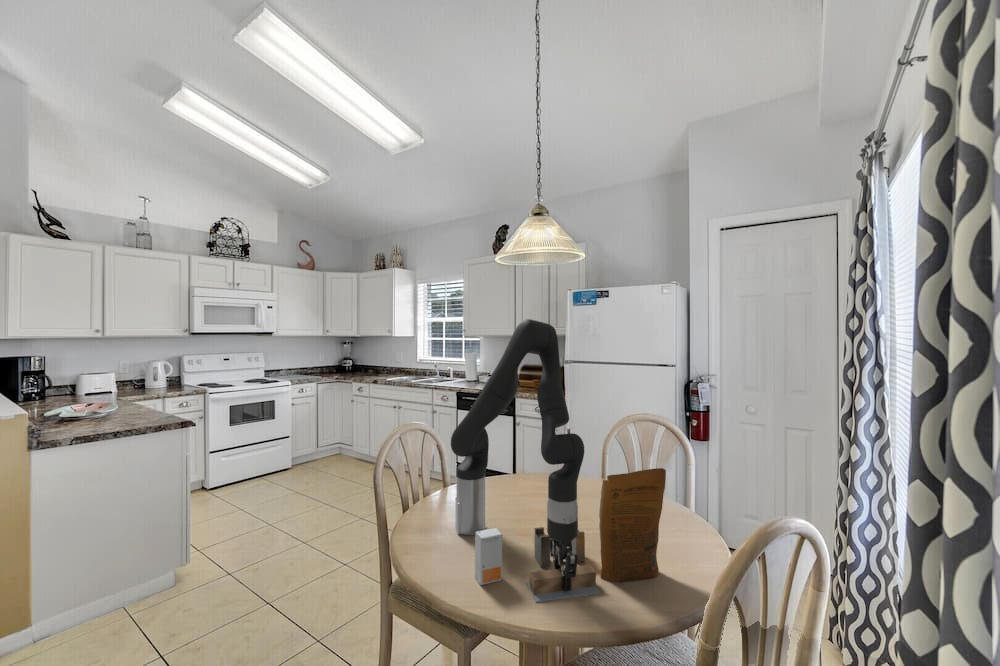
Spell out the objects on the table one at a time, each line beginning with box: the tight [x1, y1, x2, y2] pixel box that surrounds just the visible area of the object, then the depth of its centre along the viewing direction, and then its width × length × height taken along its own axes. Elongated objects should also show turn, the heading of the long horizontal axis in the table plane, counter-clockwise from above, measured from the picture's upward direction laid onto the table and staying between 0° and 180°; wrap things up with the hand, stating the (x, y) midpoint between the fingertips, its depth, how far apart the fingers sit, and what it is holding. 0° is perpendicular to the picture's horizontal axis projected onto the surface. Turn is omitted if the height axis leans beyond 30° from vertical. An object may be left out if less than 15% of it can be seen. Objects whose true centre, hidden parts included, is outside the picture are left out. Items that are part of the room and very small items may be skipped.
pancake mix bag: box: [598, 467, 667, 583], centre depth 114 cm, size 7×19×28 cm, turn 101°
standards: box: [534, 527, 586, 569], centre depth 122 cm, size 12×6×8 cm, turn 103°
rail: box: [529, 564, 597, 595], centre depth 109 cm, size 16×4×4 cm, turn 103°
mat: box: [526, 580, 601, 603], centre depth 109 cm, size 16×8×1 cm, turn 103°
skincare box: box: [474, 527, 503, 586], centre depth 113 cm, size 6×4×12 cm
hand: (562, 583), depth 109 cm, fingers open, 4 cm apart
